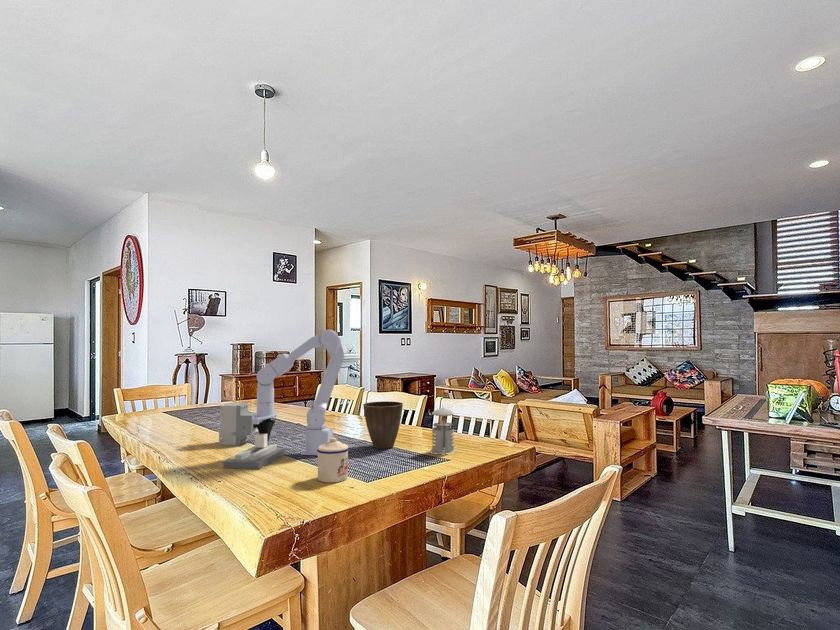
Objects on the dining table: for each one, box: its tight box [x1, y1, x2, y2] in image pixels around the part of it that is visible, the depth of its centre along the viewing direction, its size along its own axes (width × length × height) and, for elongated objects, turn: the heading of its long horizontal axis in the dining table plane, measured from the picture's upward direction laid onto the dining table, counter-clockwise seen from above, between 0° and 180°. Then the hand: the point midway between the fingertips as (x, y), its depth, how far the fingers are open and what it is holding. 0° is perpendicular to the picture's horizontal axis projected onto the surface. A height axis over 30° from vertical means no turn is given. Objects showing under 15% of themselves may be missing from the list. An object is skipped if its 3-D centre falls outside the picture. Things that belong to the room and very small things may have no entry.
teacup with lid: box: [317, 436, 350, 484], centre depth 137 cm, size 12×9×12 cm
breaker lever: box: [254, 432, 268, 452], centre depth 159 cm, size 3×3×6 cm
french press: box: [430, 381, 457, 455], centre depth 166 cm, size 10×12×25 cm
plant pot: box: [362, 400, 404, 449], centre depth 175 cm, size 15×15×16 cm
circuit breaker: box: [218, 402, 259, 446], centre depth 183 cm, size 8×14×15 cm, turn 89°
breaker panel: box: [223, 444, 288, 470], centre depth 156 cm, size 20×12×4 cm, turn 172°
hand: (264, 441), depth 162 cm, fingers closed
